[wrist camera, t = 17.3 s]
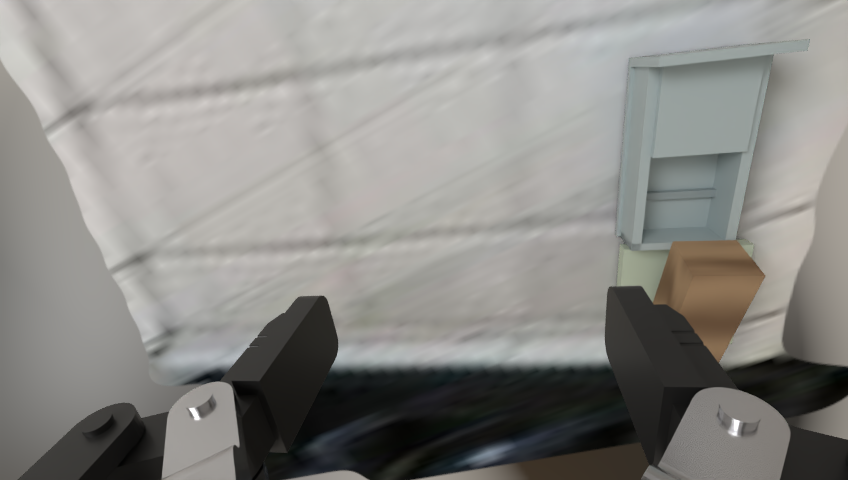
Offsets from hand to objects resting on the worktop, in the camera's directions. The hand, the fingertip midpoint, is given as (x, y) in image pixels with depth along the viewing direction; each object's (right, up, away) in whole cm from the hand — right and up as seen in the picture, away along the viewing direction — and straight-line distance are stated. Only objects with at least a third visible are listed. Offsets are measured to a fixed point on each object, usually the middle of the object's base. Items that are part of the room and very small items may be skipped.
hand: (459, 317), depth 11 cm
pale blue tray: (+19, +10, +20) cm, 30 cm away
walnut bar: (+21, -2, +22) cm, 31 cm away
